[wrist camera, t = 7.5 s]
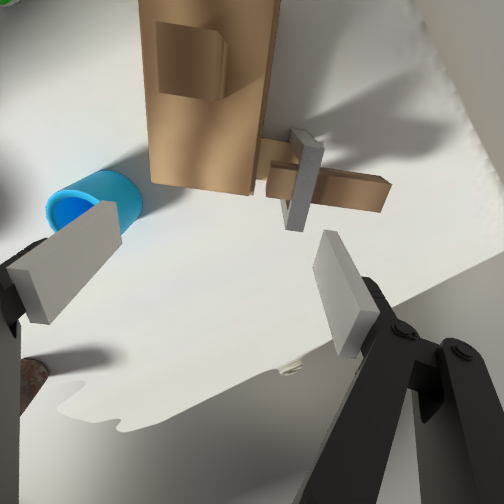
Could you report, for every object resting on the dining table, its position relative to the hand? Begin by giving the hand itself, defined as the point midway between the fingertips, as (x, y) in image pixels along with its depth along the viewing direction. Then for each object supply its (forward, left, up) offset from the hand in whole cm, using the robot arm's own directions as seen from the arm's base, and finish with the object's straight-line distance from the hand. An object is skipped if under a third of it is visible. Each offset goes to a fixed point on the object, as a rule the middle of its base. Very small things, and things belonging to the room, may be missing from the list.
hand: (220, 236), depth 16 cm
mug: (-19, -10, -23) cm, 31 cm away
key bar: (+9, 0, -15) cm, 18 cm away
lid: (-4, +6, -16) cm, 18 cm away
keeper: (+6, 0, -22) cm, 23 cm away
